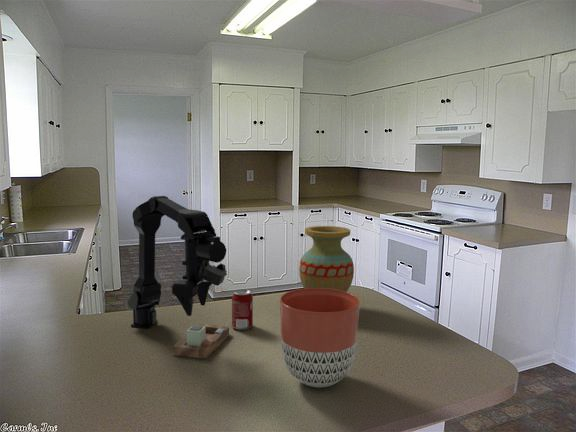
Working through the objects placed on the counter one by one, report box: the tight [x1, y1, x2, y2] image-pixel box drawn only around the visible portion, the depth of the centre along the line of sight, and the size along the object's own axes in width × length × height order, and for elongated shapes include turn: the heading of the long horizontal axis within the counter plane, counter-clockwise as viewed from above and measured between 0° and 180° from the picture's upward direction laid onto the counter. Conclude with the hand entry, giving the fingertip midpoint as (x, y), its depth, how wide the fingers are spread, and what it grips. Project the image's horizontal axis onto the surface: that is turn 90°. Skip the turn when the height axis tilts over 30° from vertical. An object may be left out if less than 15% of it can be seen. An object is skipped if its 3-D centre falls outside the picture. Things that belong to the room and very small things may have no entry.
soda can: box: [231, 288, 254, 331], centre depth 150 cm, size 7×7×12 cm
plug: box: [186, 325, 206, 347], centre depth 132 cm, size 4×4×6 cm
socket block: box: [172, 323, 230, 360], centre depth 137 cm, size 10×18×3 cm, turn 167°
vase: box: [298, 225, 355, 292], centre depth 167 cm, size 20×20×30 cm
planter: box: [279, 287, 361, 389], centre depth 114 cm, size 20×20×21 cm
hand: (196, 310), depth 131 cm, fingers open, 9 cm apart
